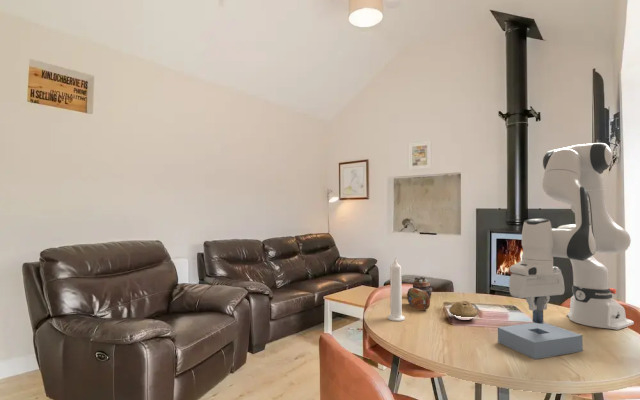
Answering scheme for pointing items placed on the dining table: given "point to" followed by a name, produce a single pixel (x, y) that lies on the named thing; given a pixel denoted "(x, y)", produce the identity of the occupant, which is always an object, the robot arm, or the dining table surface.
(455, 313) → the oil lamp
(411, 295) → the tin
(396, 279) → the candle
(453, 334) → the dining table surface
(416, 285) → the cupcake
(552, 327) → the hole block
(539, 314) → the peg
